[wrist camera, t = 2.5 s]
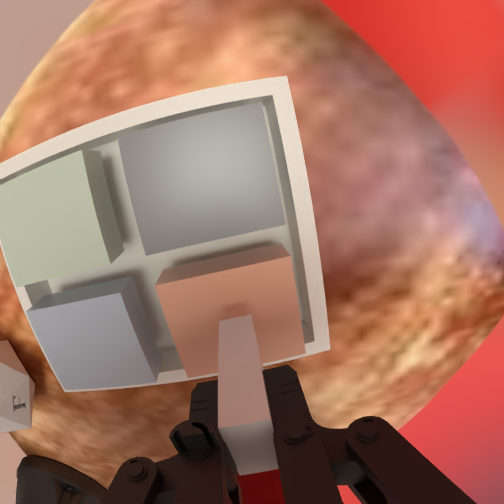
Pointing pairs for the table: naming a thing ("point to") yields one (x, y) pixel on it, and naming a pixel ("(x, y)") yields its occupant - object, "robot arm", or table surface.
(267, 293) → the key terracotta
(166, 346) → the keypad
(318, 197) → the table surface
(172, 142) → the key charcoal
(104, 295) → the key slate
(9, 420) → the die
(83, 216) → the key sage
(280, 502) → the plastic cup
